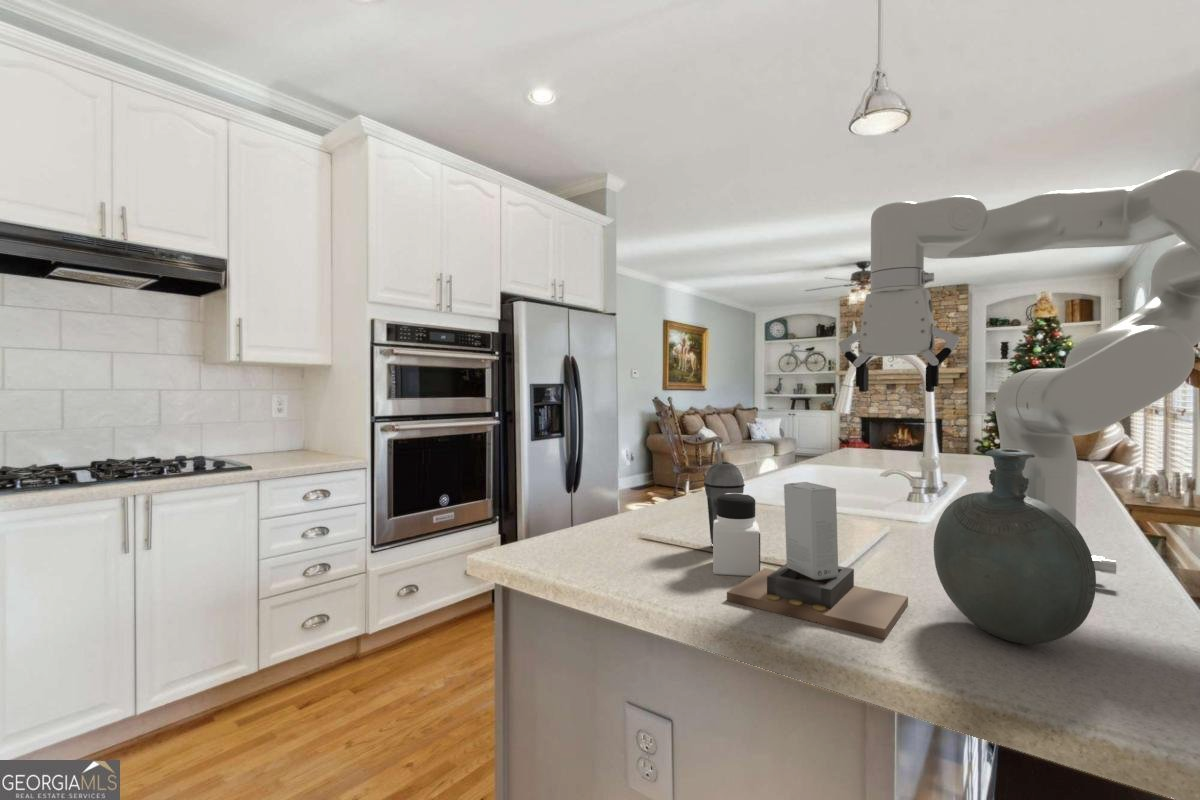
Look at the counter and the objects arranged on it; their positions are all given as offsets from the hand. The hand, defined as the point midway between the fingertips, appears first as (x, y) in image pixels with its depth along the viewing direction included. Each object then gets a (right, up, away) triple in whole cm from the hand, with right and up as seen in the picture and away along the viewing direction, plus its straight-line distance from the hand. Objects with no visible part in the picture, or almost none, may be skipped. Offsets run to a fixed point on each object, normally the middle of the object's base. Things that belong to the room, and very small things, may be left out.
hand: (895, 391), depth 93 cm
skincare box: (-18, -25, -13) cm, 34 cm away
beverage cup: (-25, -28, +13) cm, 40 cm away
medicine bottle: (-25, -29, +1) cm, 38 cm away
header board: (-18, -29, -14) cm, 37 cm away
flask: (0, -29, -25) cm, 38 cm away
